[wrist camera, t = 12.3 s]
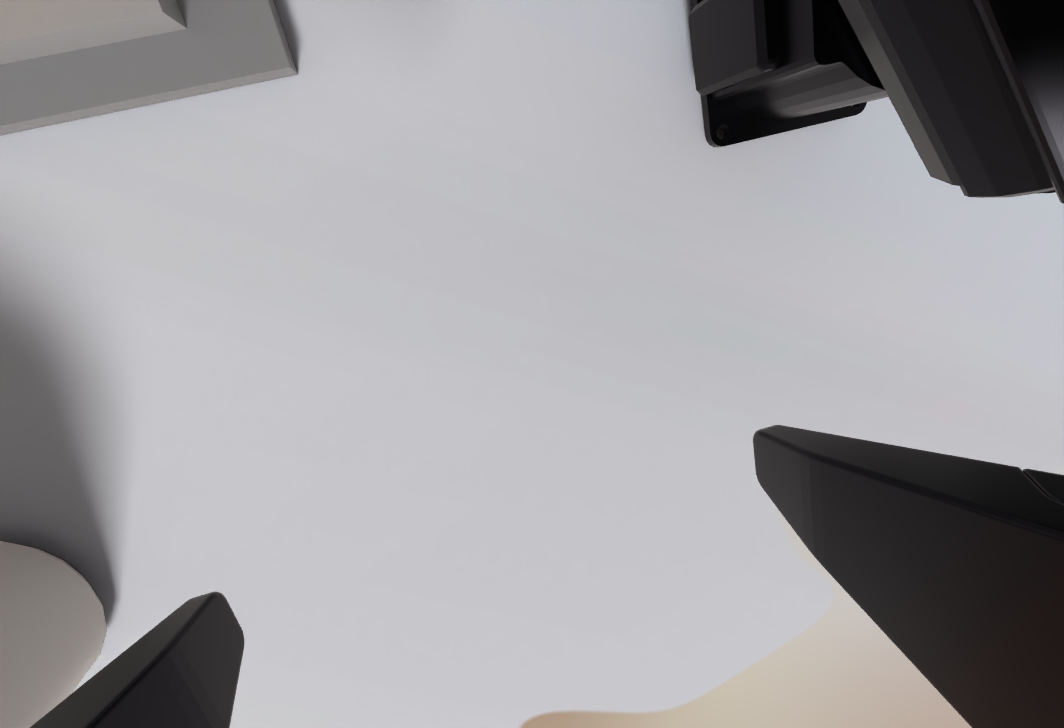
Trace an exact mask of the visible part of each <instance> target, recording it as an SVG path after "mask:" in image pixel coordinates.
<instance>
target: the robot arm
mask: <svg viewBox="0 0 1064 728" xmlns="http://www.w3.org/2000/svg"><path fill="white" fill-rule="evenodd" d="M691 2H692V11H691V13H690V15H689V26H690V35H691V45H692V54H693V64H694V73H695V83H696V90H697V91H698V92H699V93H700V94H701V99H702V109H703V119H704V128H705V137H706V140H707V142H708V143H709V145H711V146H713V147H722V146H727V145H731V144H735V143H740V142H744V141H748V140H752V139H756V138H761V137H765V136H769V135H773V134H778V133H782V132H786V131H790V130H794V129H799V128H803V127H807V126H811V125H816V124H820V123H824V122H828V121H832V120H837V119H841V118H845V117H849V116H854V115H857V114H859V113H861V112H862V111H863V110H864V108H865V106H866V104H867V102H868V101H872V100H877V99H881V98H885V97H889V98H890V100H891V102H892V104H893V106H894V108H895V110H896V112H897V113H898V115H899V117H900V119H901V121H902V123H903V125H904V127H905V129H906V131H907V132H908V134H909V136H910V138H911V140H912V142H913V144H914V146H915V148H916V150H917V152H918V154H919V156H920V158H921V159H922V161H923V163H924V165H925V167H926V169H927V170H928V172H929V174H930V176H931V177H934V178H936V179H939V180H941V181H944V182H946V183H949V184H952V185H958V186H960V187H961V189H962V191H963V193H964V195H965V196H968V197H980V198H984V197H1014V196H1021V195H1027V194H1034V193H1053V192H1056V193H1057V196H1058V198H1059V200H1060V202H1061V203H1064V0H691ZM850 105H853V106H852V107H851V106H850ZM719 126H720V127H722V128H723V131H724V134H723V137H722V138H721V139H719V138H718V137H717V134H716V133H717V129H718V127H719ZM753 446H754V457H755V467H756V475H757V478H758V481H759V483H760V485H761V486H762V488H763V489H764V491H765V492H766V493H767V495H768V496H769V497H770V499H771V500H772V501H773V503H774V504H775V505H776V507H777V508H778V509H779V511H780V512H781V513H782V515H783V516H784V517H785V519H786V520H787V521H788V523H789V524H790V525H791V527H792V528H793V529H794V531H795V532H796V533H797V535H798V536H799V537H800V539H801V540H802V541H803V543H804V544H805V545H806V547H807V548H808V549H809V550H810V552H811V553H812V554H813V555H814V557H815V558H816V559H817V560H818V561H819V562H820V563H821V565H822V566H823V567H824V568H825V569H826V570H827V571H828V572H829V573H830V574H831V575H832V576H833V578H834V579H835V580H836V581H837V582H838V583H839V584H840V585H841V586H842V587H843V589H844V590H845V591H846V592H847V593H848V594H849V595H850V596H851V597H852V598H853V599H854V600H855V602H856V603H857V604H858V605H859V606H860V607H861V608H862V609H863V610H864V611H865V612H866V613H867V614H868V616H870V618H871V619H872V620H873V621H874V622H875V623H876V624H877V625H878V626H879V627H880V629H881V630H882V631H883V632H884V633H885V634H886V635H887V636H888V637H889V638H890V639H891V640H892V642H893V643H894V644H895V645H896V646H897V647H898V648H899V649H900V650H901V651H902V652H903V653H904V654H905V656H906V657H907V658H908V659H909V660H910V661H911V662H912V663H913V664H914V665H915V666H916V667H917V669H918V670H919V671H920V672H921V673H922V674H923V675H924V676H925V677H926V678H927V679H928V681H929V682H930V683H931V684H932V685H933V686H934V687H935V688H936V689H937V690H938V691H939V692H940V694H941V695H942V696H943V697H944V698H945V699H946V700H947V701H948V702H949V703H950V704H951V705H952V706H953V708H954V709H955V710H956V711H957V712H958V713H959V714H960V715H961V716H962V717H963V718H964V719H965V721H966V722H967V723H968V724H969V725H970V726H971V727H972V728H1064V475H1059V474H1054V473H1048V472H1043V471H1037V470H1031V469H1024V470H1023V471H1022V470H1021V469H1020V468H1018V467H1014V466H1008V465H1002V464H997V463H991V462H985V461H980V460H974V459H969V458H963V457H957V456H952V455H946V454H940V453H935V452H929V451H923V450H918V449H912V448H906V447H901V446H895V445H889V444H884V443H878V442H872V441H867V440H861V439H855V438H850V437H844V436H838V435H833V434H827V433H821V432H816V431H810V430H804V429H799V428H793V427H788V426H782V425H774V426H771V427H767V428H764V429H761V430H758V431H756V432H755V434H754V437H753ZM243 650H244V635H243V631H242V629H241V627H240V625H239V623H238V621H237V619H236V617H235V615H234V613H233V611H232V609H231V607H230V605H229V604H228V602H227V600H226V598H225V597H224V595H223V594H221V593H219V592H211V593H208V594H205V595H201V596H198V597H195V598H192V599H190V600H188V601H187V602H185V603H184V604H183V605H182V606H180V607H179V608H178V609H177V610H175V611H174V612H173V613H172V614H170V615H169V616H168V617H167V618H165V619H164V620H163V621H162V622H160V623H159V624H158V625H157V626H155V627H154V628H153V629H152V630H150V631H149V632H148V633H147V634H145V635H144V636H143V637H142V638H141V639H139V640H138V641H137V642H136V643H134V644H133V645H132V646H131V647H129V648H128V649H127V650H126V651H124V652H123V653H122V654H121V655H119V656H118V657H117V658H116V659H114V660H113V661H112V662H111V663H109V664H108V665H107V666H106V667H104V668H103V669H102V670H101V671H99V672H98V673H97V674H96V675H94V676H93V677H92V678H91V679H89V680H88V681H87V682H86V683H84V684H83V685H82V686H81V687H79V688H78V689H77V690H76V691H74V692H73V693H72V694H71V695H69V696H68V697H67V698H66V699H64V700H63V701H62V702H61V703H59V704H58V705H57V706H56V707H54V708H53V709H52V710H51V711H49V712H48V713H47V714H46V715H44V716H43V717H42V718H41V719H39V720H38V721H37V722H36V723H34V724H33V725H32V726H31V727H30V728H229V727H230V721H231V716H232V710H233V705H234V699H235V694H236V688H237V683H238V677H239V672H240V666H241V661H242V656H243Z"/></svg>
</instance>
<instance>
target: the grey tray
mask: <svg viewBox="0 0 1064 728" xmlns="http://www.w3.org/2000/svg"><path fill="white" fill-rule="evenodd" d="M292 75H297V71H296V67H295V64H294V61H293V58H292V55H291V52H290V49H289V46H288V43H287V40H286V37H285V34H284V31H283V28H282V25H281V22H280V19H279V15H278V12H277V9H276V6H275V3H274V0H0V135H5V134H10V133H14V132H19V131H24V130H29V129H34V128H39V127H44V126H49V125H53V124H58V123H63V122H68V121H73V120H78V119H83V118H88V117H92V116H97V115H102V114H107V113H112V112H117V111H122V110H127V109H131V108H136V107H141V106H146V105H151V104H156V103H161V102H166V101H170V100H175V99H180V98H185V97H190V96H195V95H200V94H205V93H210V92H214V91H219V90H224V89H229V88H234V87H239V86H244V85H249V84H253V83H258V82H263V81H268V80H273V79H278V78H283V77H288V76H292Z"/></svg>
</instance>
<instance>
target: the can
mask: <svg viewBox="0 0 1064 728" xmlns="http://www.w3.org/2000/svg"><path fill="white" fill-rule="evenodd" d="M106 632H107V628H106V622H105V616H104V610H103V606H102V604H101V602H100V601H99V599H98V598H97V596H96V594H95V593H94V591H93V590H92V588H91V586H90V585H89V583H88V582H87V581H86V580H85V579H84V577H83V576H82V575H81V574H80V573H79V572H77V571H76V570H75V569H74V568H73V567H71V566H70V565H69V564H68V563H67V562H65V561H64V560H62V559H60V558H58V557H55V556H53V555H51V554H49V553H47V552H45V551H42V550H40V549H37V548H32V547H28V546H23V545H18V544H13V543H8V542H3V541H0V728H30V727H31V726H32V725H33V724H34V723H36V722H37V721H38V720H39V719H41V718H42V717H43V716H44V715H46V714H47V713H48V712H49V711H51V710H52V709H53V708H54V707H56V706H57V705H58V704H59V703H61V702H62V701H63V700H64V699H66V698H67V697H68V696H69V695H71V693H72V692H73V690H74V689H75V688H76V686H77V685H78V684H79V682H80V681H81V680H82V678H83V677H84V676H85V674H86V673H87V671H88V670H89V669H90V667H91V666H92V665H93V663H94V662H95V661H96V659H97V658H98V656H99V655H100V654H101V650H102V646H103V643H104V639H105V636H106Z"/></svg>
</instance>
